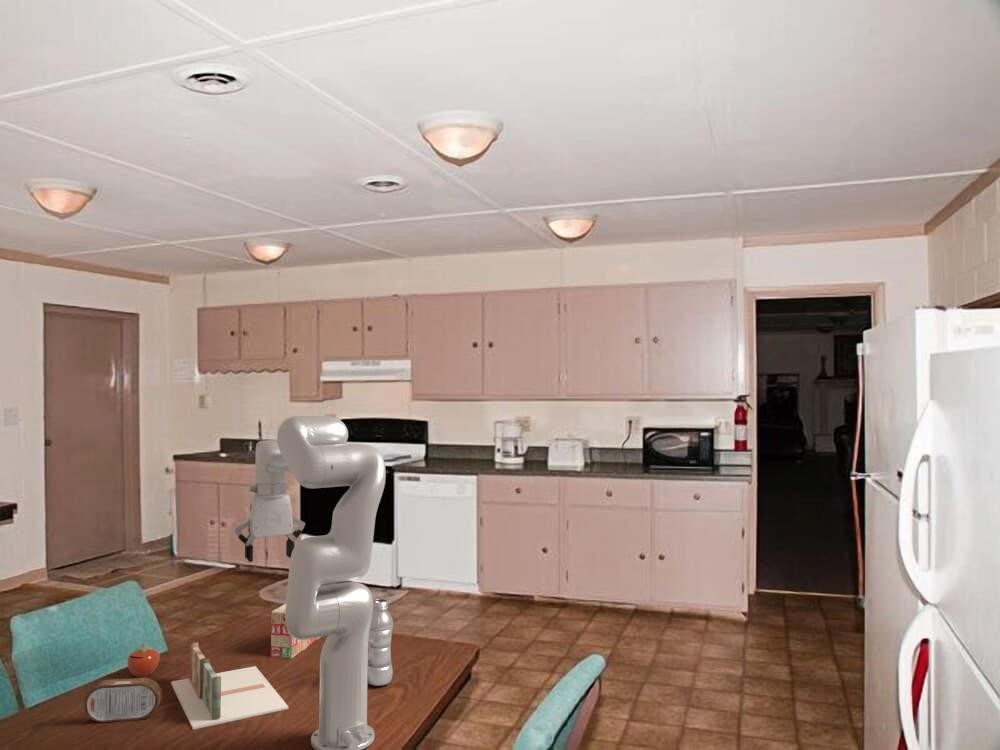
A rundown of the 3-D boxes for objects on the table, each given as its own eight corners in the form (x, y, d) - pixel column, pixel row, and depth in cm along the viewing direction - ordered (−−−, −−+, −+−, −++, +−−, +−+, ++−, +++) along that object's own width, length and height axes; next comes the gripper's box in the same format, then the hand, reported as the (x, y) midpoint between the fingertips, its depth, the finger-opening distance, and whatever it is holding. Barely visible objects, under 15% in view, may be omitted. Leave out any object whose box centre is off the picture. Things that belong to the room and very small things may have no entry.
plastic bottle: (359, 686, 180) (360, 602, 180) (377, 676, 186) (377, 596, 186) (381, 691, 177) (382, 606, 177) (398, 681, 183) (399, 599, 183)
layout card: (288, 708, 166) (288, 706, 166) (192, 729, 156) (192, 726, 156) (255, 668, 191) (255, 665, 191) (171, 683, 180) (171, 681, 180)
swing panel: (201, 699, 170) (202, 662, 170) (209, 697, 170) (210, 660, 171) (212, 719, 159) (213, 680, 159) (221, 717, 160) (222, 678, 160)
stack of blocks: (306, 632, 220) (307, 590, 221) (326, 634, 219) (326, 591, 219) (270, 657, 199) (270, 611, 200) (291, 659, 198) (292, 612, 198)
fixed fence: (209, 697, 171) (210, 660, 171) (200, 699, 170) (201, 661, 170) (197, 676, 183) (198, 641, 184) (188, 678, 182) (189, 643, 183)
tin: (161, 713, 164) (162, 675, 164) (158, 719, 161) (159, 680, 161) (86, 719, 160) (87, 680, 161) (81, 726, 157) (82, 685, 158)
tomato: (119, 678, 183) (120, 645, 184) (141, 668, 191) (141, 636, 191) (145, 681, 182) (146, 648, 182) (166, 670, 189) (166, 638, 189)
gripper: (238, 493, 178) (236, 565, 178) (309, 489, 187) (308, 558, 187) (231, 490, 185) (230, 559, 184) (301, 486, 194) (300, 552, 193)
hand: (269, 558), depth 186 cm, fingers open, 9 cm apart
